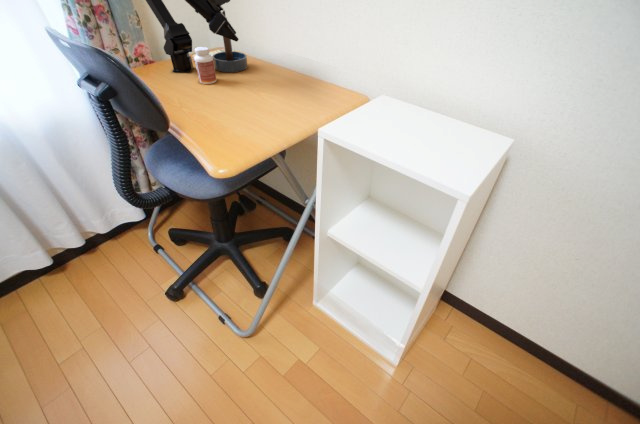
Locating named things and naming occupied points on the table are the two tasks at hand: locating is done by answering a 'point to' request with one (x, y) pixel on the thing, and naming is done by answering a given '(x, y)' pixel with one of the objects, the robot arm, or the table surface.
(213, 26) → the robot arm
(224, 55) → the bowl
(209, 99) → the table surface
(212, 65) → the pill bottle
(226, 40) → the stick
